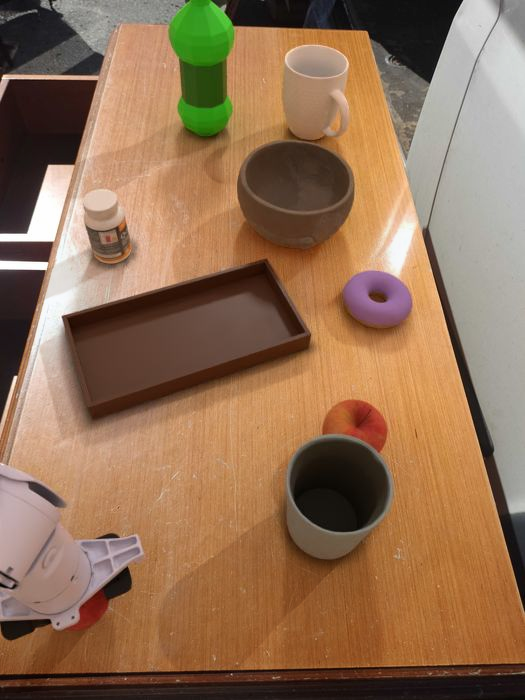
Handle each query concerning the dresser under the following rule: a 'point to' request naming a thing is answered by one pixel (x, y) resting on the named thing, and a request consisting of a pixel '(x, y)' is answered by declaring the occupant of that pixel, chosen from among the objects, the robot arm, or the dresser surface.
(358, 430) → the apple
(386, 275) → the donut
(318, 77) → the mug
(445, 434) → the dresser surface
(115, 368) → the brown dish
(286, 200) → the bowl
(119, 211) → the pill bottle
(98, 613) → the pomegranate
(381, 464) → the gray cup
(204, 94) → the plastic bottle
